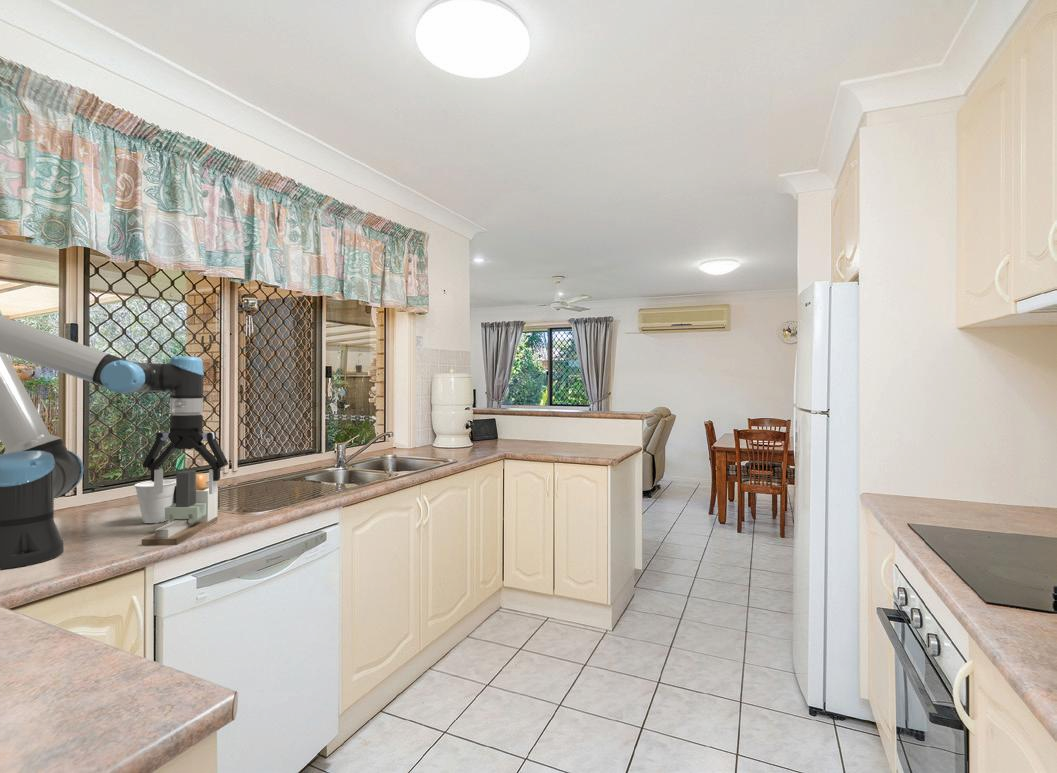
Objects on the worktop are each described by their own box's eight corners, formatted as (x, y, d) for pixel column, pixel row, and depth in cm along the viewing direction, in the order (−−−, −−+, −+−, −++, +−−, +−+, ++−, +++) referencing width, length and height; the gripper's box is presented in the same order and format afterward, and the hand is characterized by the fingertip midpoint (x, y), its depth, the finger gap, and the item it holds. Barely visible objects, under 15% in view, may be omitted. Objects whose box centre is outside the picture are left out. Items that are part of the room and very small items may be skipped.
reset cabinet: (176, 522, 146) (176, 491, 146) (187, 516, 152) (187, 487, 152) (207, 521, 147) (207, 490, 147) (217, 516, 153) (217, 486, 153)
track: (141, 545, 130) (141, 531, 130) (187, 522, 152) (187, 509, 152) (176, 544, 131) (176, 530, 131) (217, 521, 153) (217, 509, 153)
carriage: (164, 523, 140) (165, 473, 140) (174, 519, 145) (175, 470, 145) (197, 523, 141) (197, 473, 141) (206, 518, 146) (206, 470, 146)
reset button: (186, 494, 147) (186, 476, 147) (193, 491, 151) (193, 473, 151) (201, 493, 148) (201, 475, 148) (208, 490, 152) (208, 473, 152)
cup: (141, 528, 145) (140, 487, 145) (130, 522, 152) (129, 483, 151) (182, 520, 153) (181, 482, 153) (170, 514, 159) (169, 478, 159)
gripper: (127, 414, 138) (126, 496, 138) (229, 415, 141) (229, 495, 141) (144, 413, 145) (143, 491, 145) (241, 413, 148) (240, 490, 148)
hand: (185, 493), depth 143 cm, fingers open, 13 cm apart
